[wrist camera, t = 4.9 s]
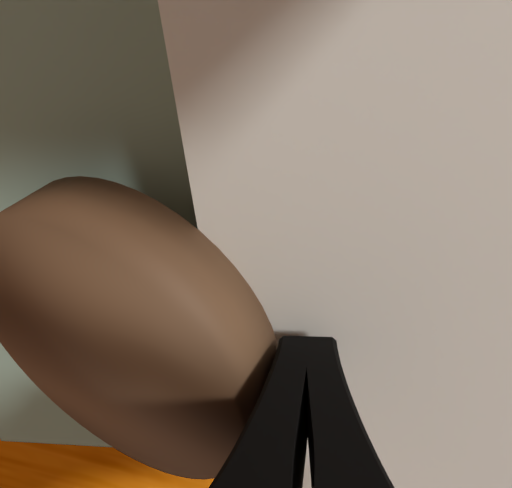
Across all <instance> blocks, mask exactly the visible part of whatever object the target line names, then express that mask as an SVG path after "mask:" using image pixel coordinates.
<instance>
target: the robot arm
mask: <svg viewBox="0 0 512 488" xmlns="http://www.w3.org/2000/svg"><path fill="white" fill-rule="evenodd" d="M307 439H308V447H309V461H310V474H311V487H312V488H394V486H393V484H392V482H391V480H390V479H389V477H388V475H387V473H386V471H385V469H384V467H383V465H382V463H381V461H380V459H379V457H378V455H377V453H376V451H375V449H374V447H373V445H372V443H371V440H370V438H369V436H368V434H367V432H366V430H365V427H364V425H363V423H362V420H361V418H360V416H359V413H358V411H357V408H356V406H355V403H354V401H353V398H352V396H351V393H350V390H349V387H348V384H347V381H346V378H345V375H344V372H343V369H342V365H341V361H340V357H339V353H338V348H337V341H336V340H335V339H334V338H333V337H315V336H283V337H281V338H280V339H279V342H278V347H277V351H276V354H275V357H274V361H273V363H272V366H271V369H270V372H269V374H268V377H267V379H266V382H265V384H264V387H263V389H262V391H261V393H260V396H259V398H258V400H257V402H256V405H255V407H254V409H253V411H252V413H251V415H250V417H249V419H248V421H247V423H246V425H245V427H244V429H243V430H242V432H241V434H240V436H239V438H238V440H237V442H236V444H235V446H234V447H233V449H232V451H231V453H230V454H229V456H228V458H227V459H226V461H225V463H224V464H223V466H222V468H221V469H220V471H219V472H218V474H217V476H216V477H215V479H214V480H213V482H212V484H211V485H210V487H209V488H302V487H303V477H304V468H305V459H306V449H307Z"/></svg>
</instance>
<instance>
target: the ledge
mask: <svg viewBox="0 0 512 488" xmlns="http://www.w3.org/2000/svg"><path fill="white" fill-rule="evenodd" d="M158 6H159V11H160V17H161V23H162V28H163V34H164V40H165V45H166V51H167V57H168V63H169V68H170V74H171V80H172V85H173V91H174V97H175V102H176V108H177V114H178V119H179V125H180V131H181V136H182V142H183V148H184V154H185V159H186V165H187V171H188V176H189V182H190V188H191V193H192V199H193V205H194V210H195V216H196V222H197V228H198V230H199V231H200V232H202V233H203V234H204V235H205V236H206V237H207V238H208V239H209V240H210V241H211V242H212V243H213V244H214V245H216V246H217V247H218V248H219V249H220V250H221V252H222V253H223V254H224V255H225V256H226V257H227V258H228V259H229V260H230V262H231V263H232V264H233V265H234V266H235V267H236V268H237V270H238V271H239V272H240V274H241V275H242V276H243V278H244V279H245V280H246V282H247V283H248V284H249V286H250V287H251V289H252V290H253V292H254V293H255V295H256V297H257V298H258V300H259V302H260V303H261V305H262V306H263V309H264V311H265V313H266V315H267V317H268V319H269V321H270V323H271V325H272V328H273V331H274V334H275V337H276V340H277V343H278V342H279V339H280V338H281V337H283V336H315V337H333V338H334V339H335V340H336V341H337V348H338V353H339V357H340V361H341V365H342V369H343V372H344V375H345V378H346V381H347V384H348V387H349V390H350V393H351V396H352V398H353V401H354V403H355V406H356V408H357V411H358V413H359V416H360V418H361V420H362V423H363V425H364V427H365V430H366V432H367V434H368V436H369V438H370V440H371V443H372V445H373V447H374V449H375V451H376V453H377V455H378V457H379V459H380V461H381V463H382V465H383V467H384V469H385V471H386V473H387V475H388V477H389V479H390V480H391V482H392V484H393V486H394V488H512V0H158ZM302 488H312V487H311V474H310V461H309V447H308V439H307V449H306V459H305V468H304V477H303V487H302Z"/></svg>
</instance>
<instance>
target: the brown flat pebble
mask: <svg viewBox="0 0 512 488" xmlns="http://www.w3.org/2000/svg"><path fill="white" fill-rule="evenodd" d="M0 343H1V344H2V346H3V347H4V348H5V350H6V351H7V352H8V353H9V355H10V356H11V357H12V359H13V360H14V361H15V362H16V363H17V365H18V366H19V367H20V368H21V369H22V370H23V372H24V373H25V374H26V375H27V376H28V377H29V378H30V379H31V380H32V381H33V382H34V383H35V385H36V386H37V387H38V388H39V389H40V390H41V391H42V392H43V393H44V394H46V395H47V396H48V397H49V398H50V399H51V400H52V401H53V402H54V403H55V404H56V405H57V406H58V407H60V408H61V409H62V410H63V411H64V412H65V413H66V414H68V415H69V416H70V417H71V418H73V419H74V420H75V421H76V422H77V423H79V424H80V425H81V426H83V427H84V428H85V429H87V430H88V431H89V432H91V433H92V434H94V435H95V436H96V437H98V438H99V439H101V440H102V441H104V442H105V443H107V444H108V445H110V446H112V447H113V448H115V449H117V450H118V451H120V452H122V453H124V454H125V455H127V456H129V457H131V458H133V459H135V460H137V461H139V462H141V463H143V464H145V465H148V466H150V467H152V468H155V469H157V470H160V471H163V472H166V473H169V474H173V475H176V476H180V477H186V478H191V479H211V478H215V477H216V476H217V474H218V472H219V471H220V469H221V468H222V466H223V464H224V463H225V461H226V459H227V458H228V456H229V454H230V453H231V451H232V449H233V447H234V446H235V444H236V442H237V440H238V438H239V436H240V434H241V432H242V430H243V429H244V427H245V425H246V423H247V421H248V419H249V417H250V415H251V413H252V411H253V409H254V407H255V405H256V402H257V400H258V398H259V396H260V393H261V391H262V389H263V387H264V384H265V382H266V379H267V377H268V374H269V372H270V369H271V366H272V363H273V361H274V357H275V354H276V351H277V347H278V343H277V340H276V337H275V334H274V331H273V328H272V325H271V323H270V321H269V319H268V317H267V315H266V313H265V311H264V309H263V306H262V305H261V303H260V302H259V300H258V298H257V297H256V295H255V293H254V292H253V290H252V289H251V287H250V286H249V284H248V283H247V282H246V280H245V279H244V278H243V276H242V275H241V274H240V272H239V271H238V270H237V268H236V267H235V266H234V265H233V264H232V263H231V262H230V260H229V259H228V258H227V257H226V256H225V255H224V254H223V253H222V252H221V250H220V249H219V248H218V247H217V246H216V245H214V244H213V243H212V242H211V241H210V240H209V239H208V238H207V237H206V236H205V235H204V234H203V233H202V232H200V231H199V230H198V229H197V228H196V227H194V226H193V225H192V224H190V223H189V222H188V221H187V220H185V219H184V218H183V217H181V216H180V215H179V214H177V213H176V212H174V211H173V210H171V209H170V208H168V207H166V206H165V205H163V204H162V203H160V202H159V201H157V200H155V199H153V198H151V197H149V196H147V195H145V194H143V193H141V192H139V191H138V190H135V189H133V188H130V187H127V186H125V185H122V184H119V183H117V182H113V181H109V180H105V179H101V178H95V177H85V176H75V177H65V178H61V179H58V180H54V181H52V182H50V183H48V184H47V185H45V186H43V187H42V188H40V189H38V190H36V191H35V192H33V193H31V194H30V195H28V196H26V197H25V198H23V199H21V200H20V201H18V202H16V203H14V204H13V205H11V206H9V207H8V208H6V209H4V210H3V211H1V212H0Z"/></svg>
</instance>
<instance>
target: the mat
mask: <svg viewBox="0 0 512 488" xmlns="http://www.w3.org/2000/svg"><path fill="white" fill-rule="evenodd" d="M75 176H85V177H95V178H101V179H105V180H109V181H113V182H117V183H119V184H122V185H125V186H127V187H130V188H133V189H135V190H138V191H139V192H141V193H143V194H145V195H147V196H149V197H151V198H153V199H155V200H157V201H159V202H160V203H162V204H163V205H165V206H166V207H168V208H170V209H171V210H173V211H174V212H176V213H177V214H179V215H180V216H181V217H183V218H184V219H185V220H187V221H188V222H189V223H190V224H192V225H193V226H194V227H196V228H197V222H196V216H195V210H194V205H193V199H192V193H191V188H190V182H189V176H188V171H187V165H186V159H185V154H184V148H183V142H182V136H181V131H180V125H179V119H178V114H177V108H176V102H175V97H174V91H173V85H172V80H171V74H170V68H169V63H168V57H167V51H166V45H165V40H164V34H163V28H162V23H161V17H160V11H159V6H158V0H0V212H1V211H3V210H4V209H6V208H8V207H9V206H11V205H13V204H14V203H16V202H18V201H20V200H21V199H23V198H25V197H26V196H28V195H30V194H31V193H33V192H35V191H36V190H38V189H40V188H42V187H43V186H45V185H47V184H48V183H50V182H52V181H54V180H58V179H61V178H65V177H75ZM197 229H198V228H197ZM0 439H1V441H14V442H31V443H48V444H66V445H83V446H100V447H112V446H110V445H108V444H107V443H105V442H104V441H102V440H101V439H99V438H98V437H96V436H95V435H94V434H92V433H91V432H89V431H88V430H87V429H85V428H84V427H83V426H81V425H80V424H79V423H77V422H76V421H75V420H74V419H73V418H71V417H70V416H69V415H68V414H66V413H65V412H64V411H63V410H62V409H61V408H60V407H58V406H57V405H56V404H55V403H54V402H53V401H52V400H51V399H50V398H49V397H48V396H47V395H46V394H44V393H43V392H42V391H41V390H40V389H39V388H38V387H37V386H36V385H35V383H34V382H33V381H32V380H31V379H30V378H29V377H28V376H27V375H26V374H25V373H24V372H23V370H22V369H21V368H20V367H19V366H18V365H17V363H16V362H15V361H14V360H13V359H12V357H11V356H10V355H9V353H8V352H7V351H6V350H5V348H4V347H3V346H2V344H1V343H0Z"/></svg>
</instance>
